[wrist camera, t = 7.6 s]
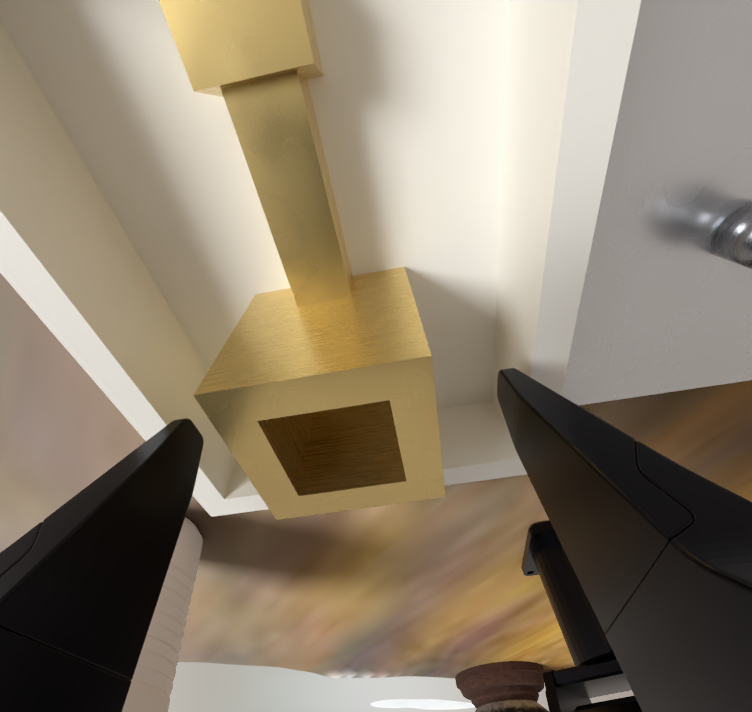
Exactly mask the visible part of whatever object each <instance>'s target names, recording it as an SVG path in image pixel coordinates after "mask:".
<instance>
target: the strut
mask: <svg viewBox="0 0 752 712" xmlns="http://www.w3.org/2000/svg"><path fill="white" fill-rule="evenodd" d="M159 3H160V6H161V8H162V11H163V13H164V16H165V18H166V21H167V24H168V26H169V29H170V31H171V34H172V36H173V39H174V42H175V44H176V47H177V49H178V52H179V54H180V57H181V60H182V62H183V65H184V67H185V70H186V72H187V75H188V78H189V80H190V83H191V85H192V88H193V90H194V92H199V93H204V94H209V95H215V96H220V97H224V100H225V102H226V105H227V108H228V111H229V114H230V117H231V119H232V122H233V125H234V128H235V131H236V134H237V137H238V139H239V142H240V145H241V148H242V151H243V154H244V156H245V159H246V162H247V165H248V168H249V171H250V174H251V176H252V179H253V182H254V185H255V188H256V191H257V194H258V196H259V199H260V202H261V205H262V208H263V211H264V213H265V216H266V219H267V222H268V225H269V228H270V231H271V233H272V236H273V239H274V242H275V245H276V248H277V250H278V253H279V256H280V259H281V262H282V265H283V268H284V270H285V273H286V276H287V279H288V282H289V285H290V287H291V288H287V289H281V290H276V291H271V292H265V293H260V294H255V296H254V298H253V299H252V301H251V302H250V304H249V306H248V307H247V309H246V310H245V312H244V314H243V315H242V317H241V319H240V320H239V322H238V323H237V325H236V327H235V328H234V330H233V332H232V333H231V335H230V336H229V338H228V340H227V341H226V343H225V344H224V346H223V348H222V349H221V351H220V353H219V354H218V356H217V357H216V359H215V361H214V362H213V364H212V365H211V367H210V369H209V370H208V372H207V374H206V375H205V377H204V378H203V380H202V382H201V383H200V385H199V386H198V388H197V390H196V391H195V393H194V395H193V396H194V397H195V399H196V400H197V402H198V403H199V405H200V406H201V408H202V409H203V411H204V412H205V414H206V415H207V417H208V418H209V420H210V421H211V423H212V424H213V426H214V427H215V429H216V430H217V432H218V433H219V435H220V436H221V438H222V439H223V441H224V442H225V444H226V445H227V447H228V448H229V450H230V451H231V453H232V454H233V456H234V457H235V459H236V460H237V462H238V463H239V465H240V466H241V468H242V469H243V471H244V472H245V474H246V475H247V477H248V478H249V480H250V481H251V483H252V484H253V486H254V487H255V489H256V490H257V492H258V493H259V495H260V496H261V498H262V499H263V501H264V502H265V504H266V505H267V507H268V508H269V510H270V511H271V513H272V514H273V516H274V517H275V519H276V520H279V519H287V518H294V517H301V516H309V515H316V514H324V513H331V512H339V511H346V510H353V509H361V508H368V507H376V506H383V505H390V504H398V503H405V502H413V501H420V500H427V499H435V498H442V497H446V494H445V484H444V474H443V464H442V454H441V444H440V434H439V424H438V414H437V404H436V394H435V384H434V374H433V364H432V355H431V352H430V349H429V345H428V342H427V339H426V335H425V332H424V329H423V326H422V322H421V319H420V316H419V313H418V309H417V306H416V303H415V299H414V296H413V293H412V290H411V286H410V283H409V280H408V276H407V273H406V270H405V267H400V268H394V269H389V270H383V271H378V272H373V273H367V274H362V275H357V276H353V275H352V271H351V267H350V262H349V258H348V253H347V249H346V245H345V240H344V236H343V232H342V227H341V223H340V219H339V214H338V210H337V206H336V201H335V197H334V193H333V188H332V184H331V180H330V175H329V171H328V167H327V162H326V158H325V153H324V149H323V145H322V140H321V136H320V132H319V127H318V123H317V119H316V114H315V110H314V106H313V101H312V97H311V93H310V88H309V84H308V79H312V78H317V77H321V76H324V74H323V70H322V65H321V60H320V55H319V50H318V45H317V41H316V36H315V31H314V26H313V21H312V16H311V12H310V7H309V2H308V0H159Z"/></svg>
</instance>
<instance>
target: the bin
mask: <svg viewBox="0 0 752 712" xmlns="http://www.w3.org/2000/svg"><path fill="white" fill-rule="evenodd" d="M308 2H309V7H310V12H311V16H312V21H313V26H314V31H315V36H316V41H317V45H318V50H319V55H320V60H321V65H322V70H323V74H324V76H321V77H317V78H312V79H308V84H309V88H310V93H311V97H312V101H313V106H314V110H315V114H316V119H317V123H318V127H319V132H320V136H321V140H322V145H323V149H324V153H325V158H326V162H327V167H328V171H329V175H330V180H331V184H332V188H333V193H334V197H335V201H336V206H337V210H338V214H339V219H340V223H341V227H342V232H343V236H344V240H345V245H346V249H347V253H348V258H349V262H350V267H351V271H352V275H353V276H357V275H362V274H367V273H373V272H378V271H383V270H389V269H394V268H400V267H405V270H406V273H407V276H408V280H409V283H410V286H411V290H412V293H413V296H414V299H415V303H416V306H417V309H418V313H419V316H420V319H421V322H422V326H423V329H424V332H425V335H426V339H427V342H428V345H429V349H430V352H431V355H432V364H433V374H434V384H435V394H436V404H437V414H438V424H439V434H440V444H441V454H442V464H443V474H444V484H445V485H452V484H460V483H467V482H475V481H482V480H490V479H497V478H505V477H512V476H520V475H527V472H526V470H525V468H524V466H523V464H522V462H521V460H520V458H519V456H518V454H517V452H516V449H515V447H514V444H513V441H512V439H511V436H510V433H509V430H508V427H507V424H506V421H505V418H504V415H503V413H502V410H501V407H500V404H499V401H498V397H497V381H498V372H499V371H500V370H501V369H507V368H516V369H517V370H519V371H521V372H523V373H524V374H526V375H528V376H529V377H531V378H533V379H534V380H536V381H538V382H539V383H541V384H543V385H544V386H546V387H548V388H550V389H551V390H553V391H555V392H556V393H558V394H560V395H561V393H562V389H563V384H564V379H565V374H566V369H567V364H568V359H569V354H570V349H571V344H572V339H573V334H574V329H575V324H576V320H577V315H578V310H579V305H580V300H581V295H582V290H583V285H584V280H585V275H586V270H587V265H588V260H589V255H590V251H591V246H592V241H593V236H594V231H595V226H596V221H597V216H598V211H599V206H600V201H601V196H602V191H603V186H604V182H605V177H606V172H607V167H608V162H609V157H610V152H611V147H612V142H613V137H614V132H615V127H616V122H617V117H618V113H619V108H620V103H621V98H622V93H623V88H624V83H625V78H626V73H627V68H628V63H629V58H630V53H631V48H632V44H633V39H634V34H635V29H636V24H637V19H638V14H639V9H640V4H641V0H308ZM0 273H1V274H2V275H3V276H4V277H5V279H6V280H7V281H8V282H9V283H10V284H11V285H12V287H13V288H14V289H15V290H16V291H17V292H18V294H19V295H20V296H21V297H22V298H23V299H24V301H25V302H26V303H27V304H28V305H29V306H30V307H31V309H32V310H33V311H34V312H35V313H36V314H37V316H38V317H39V318H40V319H41V320H42V321H43V323H44V324H45V325H46V326H47V327H48V328H49V329H50V331H51V332H52V333H53V334H54V335H55V336H56V338H57V339H58V340H59V341H60V342H61V343H62V345H63V346H64V347H65V348H66V349H67V350H68V352H69V353H70V354H71V355H72V356H73V357H74V358H75V360H76V361H77V362H78V363H79V364H80V365H81V367H82V368H83V369H84V370H85V371H86V372H87V374H88V375H89V376H90V377H91V378H92V379H93V380H94V382H95V383H96V384H97V385H98V386H99V387H100V389H101V390H102V391H103V392H104V393H105V394H106V396H107V397H108V398H109V399H110V400H111V401H112V403H113V404H114V405H115V406H116V407H117V408H118V409H119V411H120V412H121V413H122V414H123V415H124V416H125V418H126V419H127V420H128V421H129V422H130V423H131V425H132V426H133V427H134V428H135V429H136V430H137V431H138V433H139V434H140V435H141V436H142V437H143V438H144V440H145V441H147V440H148V439H150V438H151V437H152V436H154V435H155V434H156V433H158V432H159V431H160V430H162V429H163V428H164V427H165V426H167V425H168V424H169V423H171V422H172V421H174V420H177V419H184V418H188V419H190V420H191V421H192V422H193V423H194V425H195V426H196V428H197V429H198V430H199V432H200V433H201V435H202V436H203V440H204V444H203V449H202V454H201V459H200V463H199V468H198V472H197V477H196V482H195V486H194V490H193V494H192V495H193V496H194V498H195V499H196V500H197V501H198V502H199V503H200V504H201V506H202V507H203V508H204V509H205V510H206V511H207V513H208V514H209V515H210V516H211V517H213V516H221V515H228V514H236V513H243V512H251V511H258V510H266V509H269V508H268V507H267V505H266V504H265V502H264V501H263V499H262V498H261V496H260V495H259V493H258V492H257V490H256V489H255V487H254V486H253V484H252V483H251V481H250V480H249V478H248V477H247V475H246V474H245V472H244V471H243V469H242V468H241V466H240V465H239V463H238V462H237V460H236V459H235V457H234V456H233V454H232V453H231V451H230V450H229V448H228V447H227V445H226V444H225V442H224V441H223V439H222V438H221V436H220V435H219V433H218V432H217V430H216V429H215V427H214V426H213V424H212V423H211V421H210V420H209V418H208V417H207V415H206V414H205V412H204V411H203V409H202V408H201V406H200V405H199V403H198V402H197V400H196V399H195V397H194V396H193V395H194V393H195V391H196V390H197V388H198V386H199V385H200V383H201V382H202V380H203V378H204V377H205V375H206V374H207V372H208V370H209V369H210V367H211V365H212V364H213V362H214V361H215V359H216V357H217V356H218V354H219V353H220V351H221V349H222V348H223V346H224V344H225V343H226V341H227V340H228V338H229V336H230V335H231V333H232V332H233V330H234V328H235V327H236V325H237V323H238V322H239V320H240V319H241V317H242V315H243V314H244V312H245V310H246V309H247V307H248V306H249V304H250V302H251V301H252V299H253V298H254V296H255V294H260V293H265V292H271V291H276V290H281V289H287V288H291V287H290V285H289V282H288V279H287V276H286V273H285V270H284V268H283V265H282V262H281V259H280V256H279V253H278V250H277V248H276V245H275V242H274V239H273V236H272V233H271V231H270V228H269V225H268V222H267V219H266V216H265V213H264V211H263V208H262V205H261V202H260V199H259V196H258V194H257V191H256V188H255V185H254V182H253V179H252V176H251V174H250V171H249V168H248V165H247V162H246V159H245V156H244V154H243V151H242V148H241V145H240V142H239V139H238V137H237V134H236V131H235V128H234V125H233V122H232V119H231V117H230V114H229V111H228V108H227V105H226V102H225V100H224V97H220V96H215V95H209V94H204V93H199V92H194V90H193V88H192V85H191V83H190V80H189V78H188V75H187V72H186V70H185V67H184V65H183V62H182V60H181V57H180V54H179V52H178V49H177V47H176V44H175V42H174V39H173V36H172V34H171V31H170V29H169V26H168V24H167V21H166V18H165V16H164V13H163V11H162V8H161V6H160V3H159V0H0Z"/></svg>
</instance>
